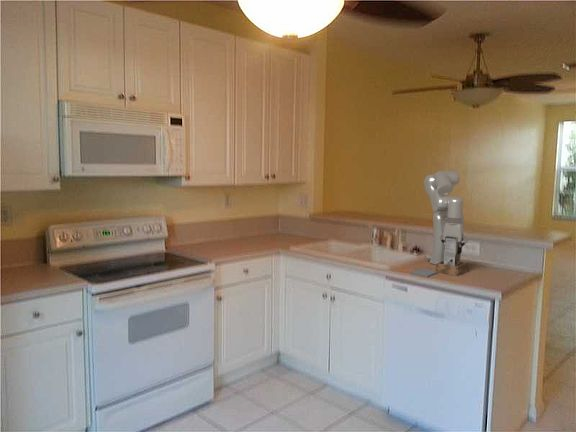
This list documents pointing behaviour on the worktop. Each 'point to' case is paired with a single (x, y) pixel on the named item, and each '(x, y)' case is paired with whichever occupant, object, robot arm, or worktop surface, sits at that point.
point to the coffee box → (451, 251)
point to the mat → (424, 272)
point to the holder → (452, 268)
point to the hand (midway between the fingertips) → (452, 252)
